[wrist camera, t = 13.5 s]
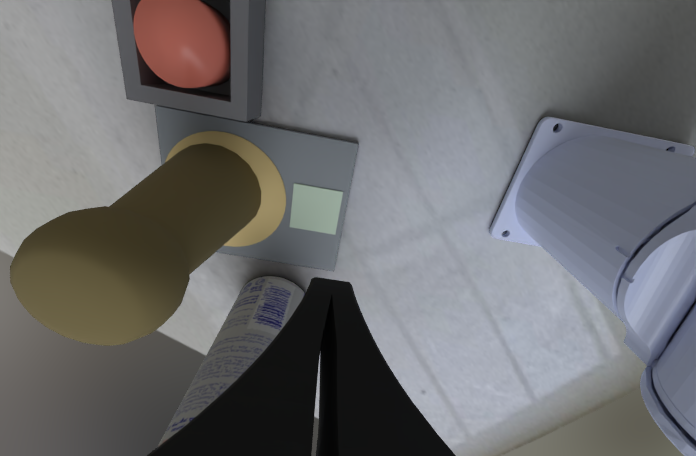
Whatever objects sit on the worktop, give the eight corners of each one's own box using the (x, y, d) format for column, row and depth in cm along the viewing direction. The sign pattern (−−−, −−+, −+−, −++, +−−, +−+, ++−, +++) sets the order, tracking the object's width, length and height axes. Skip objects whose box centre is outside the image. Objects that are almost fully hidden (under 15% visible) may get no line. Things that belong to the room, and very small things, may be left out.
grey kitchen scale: (358, 143, 18) (358, 144, 18) (334, 268, 22) (333, 272, 22) (158, 105, 17) (153, 105, 17) (173, 241, 22) (169, 245, 21)
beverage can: (229, 303, 24) (75, 578, 11) (264, 259, 22) (125, 534, 9) (285, 334, 26) (210, 610, 13) (323, 296, 24) (281, 578, 10)
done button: (239, 9, 15) (219, -2, 12) (238, 92, 16) (221, 95, 14) (160, -7, 14) (127, -22, 12) (168, 78, 16) (139, 79, 14)
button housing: (266, -10, 15) (249, -26, 12) (261, 115, 17) (246, 121, 15) (143, -37, 14) (102, -58, 12) (157, 96, 17) (126, 99, 15)
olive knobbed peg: (165, 216, 20) (-14, 349, 10) (170, 128, 17) (-65, 197, 8) (252, 241, 21) (163, 387, 11) (270, 161, 18) (172, 262, 8)
